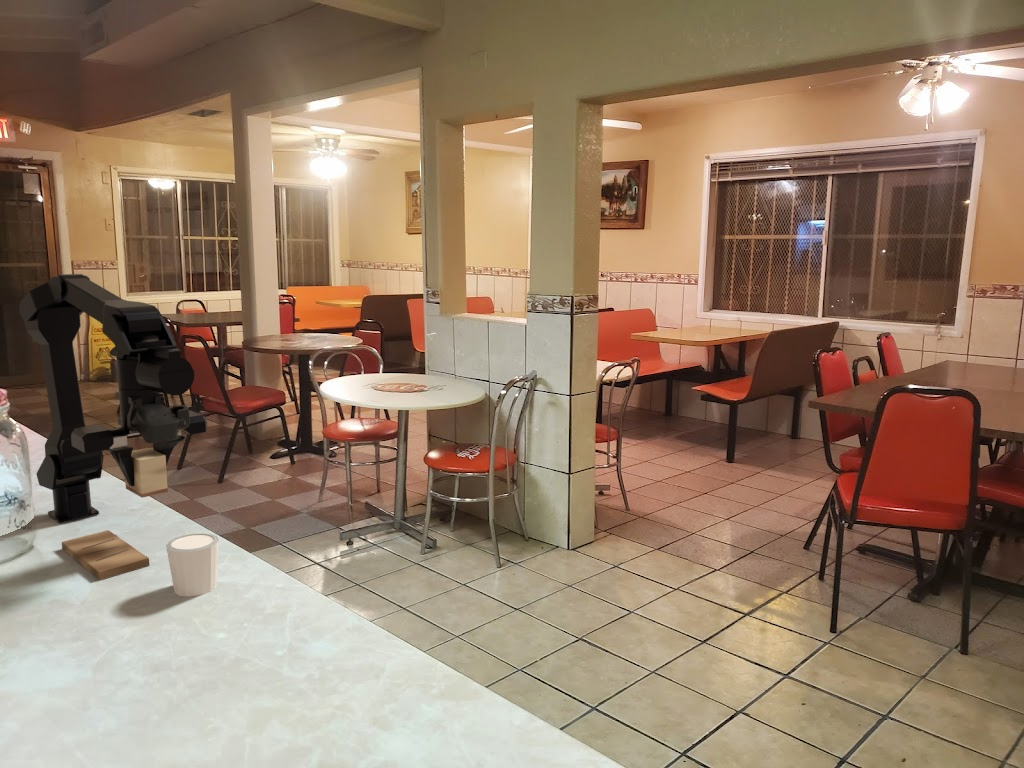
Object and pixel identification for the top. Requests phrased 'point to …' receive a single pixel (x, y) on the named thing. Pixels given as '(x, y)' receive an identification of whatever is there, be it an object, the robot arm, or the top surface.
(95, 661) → the top surface
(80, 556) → the board
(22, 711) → the top surface
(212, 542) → the white cup
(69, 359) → the robot arm
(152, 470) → the block
